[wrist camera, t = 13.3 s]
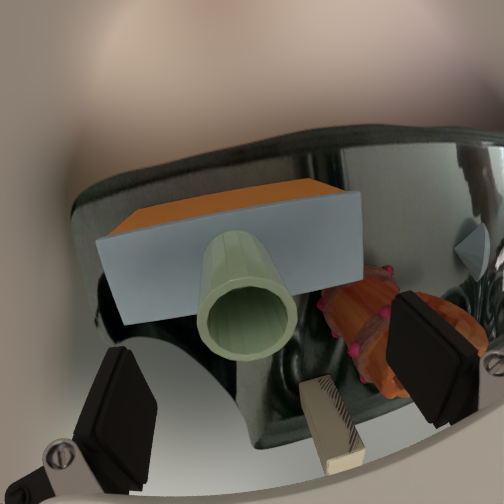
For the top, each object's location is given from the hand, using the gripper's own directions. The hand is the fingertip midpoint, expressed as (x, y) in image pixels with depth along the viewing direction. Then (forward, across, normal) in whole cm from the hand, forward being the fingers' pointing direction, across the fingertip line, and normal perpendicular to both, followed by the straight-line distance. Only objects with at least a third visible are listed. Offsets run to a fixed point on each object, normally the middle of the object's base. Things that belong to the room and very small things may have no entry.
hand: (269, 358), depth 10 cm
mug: (+19, -13, +10) cm, 25 cm away
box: (+19, -6, +24) cm, 31 cm away
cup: (+9, +1, 0) cm, 9 cm away
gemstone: (+20, -29, +8) cm, 36 cm away
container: (+19, +1, 0) cm, 19 cm away
